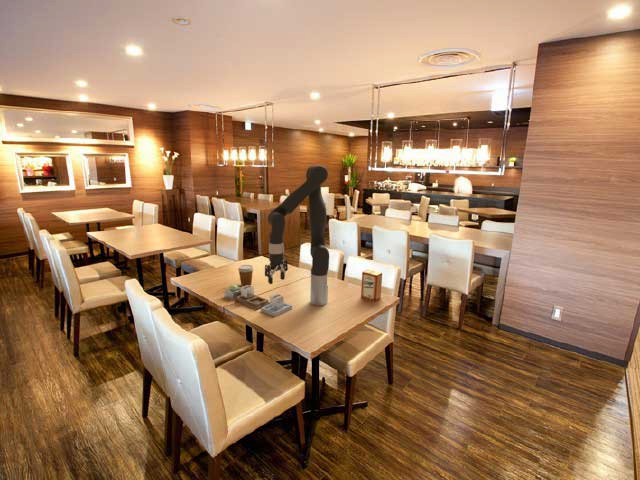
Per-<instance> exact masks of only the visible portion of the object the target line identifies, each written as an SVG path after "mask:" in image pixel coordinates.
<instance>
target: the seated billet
mask: <svg viewBox="0 0 640 480" xmlns="http://www.w3.org/2000/svg"><path fill="white" fill-rule="evenodd" d="M240 288H241V298H243V299H246V300H248V299H250V298H253V297H254V295H255V293H254V288H255V287H254V286H252V285H250V286H249V285H247V286H241V287H240Z"/></svg>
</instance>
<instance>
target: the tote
mask: <svg viewBox="0 0 640 480" xmlns="http://www.w3.org/2000/svg"><path fill="white" fill-rule="evenodd" d="M292 309H293V305H292V304H290V303H287V302H284V301H283V308H282V309H280V310H278V311H274V310H272V309H270V304H269V305H266V306H264V307H262V308H260V312H261V313H264V314H267V315H269V316H271V317H274V318H275V317H278V316H279V315H281V314H283V313H286V312H288V311H291V310H292Z"/></svg>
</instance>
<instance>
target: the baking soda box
mask: <svg viewBox="0 0 640 480" xmlns="http://www.w3.org/2000/svg"><path fill="white" fill-rule="evenodd" d="M361 273H362V274H361V293H360V298H362V297H365V298H364V299H366V298H368V299H367V300H369V299H371V300H370V301H372V300H374V301H373V302H376V300H377V301H379V300H380V299H381V295H382V285H383V284H382V283H383V272H380V271H377V270H373V269H366V270H363V271H362V272H361ZM379 298H380V299H379Z"/></svg>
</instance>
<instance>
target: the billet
mask: <svg viewBox="0 0 640 480" xmlns="http://www.w3.org/2000/svg"><path fill="white" fill-rule="evenodd" d="M269 302H270V309H272V310H274V311H278V310H280V309H282V308H283V302H284V295H282V294H278V293H275V294H272V295H270V296H269Z"/></svg>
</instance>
